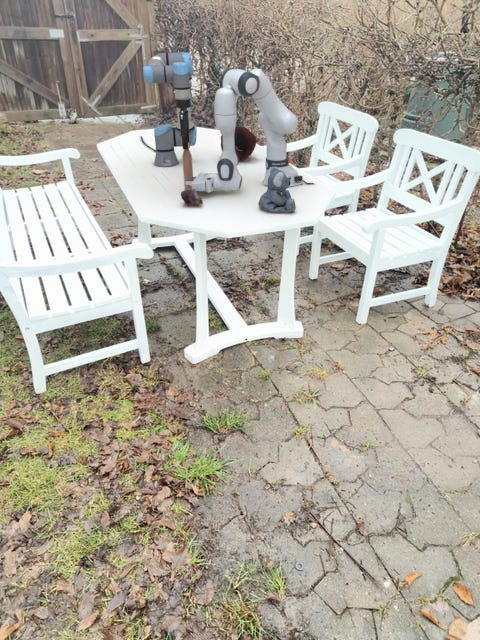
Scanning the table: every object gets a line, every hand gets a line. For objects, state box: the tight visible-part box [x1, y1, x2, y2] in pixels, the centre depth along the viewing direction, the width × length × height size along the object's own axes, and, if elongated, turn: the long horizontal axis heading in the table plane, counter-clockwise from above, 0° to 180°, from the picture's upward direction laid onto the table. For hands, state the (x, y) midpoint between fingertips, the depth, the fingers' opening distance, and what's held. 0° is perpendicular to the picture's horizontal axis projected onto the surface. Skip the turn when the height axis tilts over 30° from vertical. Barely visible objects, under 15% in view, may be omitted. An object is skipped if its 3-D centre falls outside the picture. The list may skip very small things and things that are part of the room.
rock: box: [180, 189, 204, 207], centre depth 229 cm, size 12×9×10 cm
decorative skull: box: [219, 125, 257, 162], centre depth 297 cm, size 21×24×25 cm
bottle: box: [181, 148, 194, 191], centre depth 240 cm, size 5×5×26 cm
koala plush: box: [257, 167, 297, 214], centre depth 221 cm, size 17×18×20 cm
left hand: (186, 147), depth 234 cm, fingers open, 4 cm apart
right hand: (187, 180), depth 244 cm, fingers closed on bottle, 5 cm apart
